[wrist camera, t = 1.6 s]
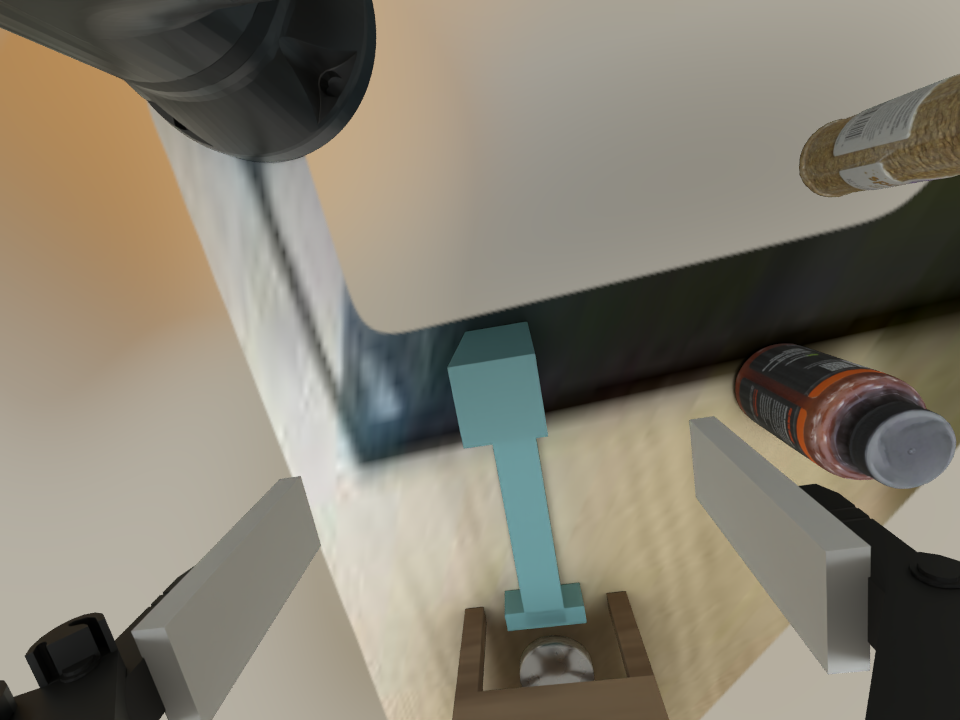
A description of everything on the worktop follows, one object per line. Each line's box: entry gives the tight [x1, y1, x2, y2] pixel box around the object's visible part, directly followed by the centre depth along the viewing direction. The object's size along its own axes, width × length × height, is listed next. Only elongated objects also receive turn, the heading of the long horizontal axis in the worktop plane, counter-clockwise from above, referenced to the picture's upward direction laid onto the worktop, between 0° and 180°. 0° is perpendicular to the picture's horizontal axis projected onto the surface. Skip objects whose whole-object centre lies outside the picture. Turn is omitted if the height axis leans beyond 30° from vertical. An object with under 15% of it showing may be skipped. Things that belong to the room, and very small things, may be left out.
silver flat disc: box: [520, 635, 594, 687], centre depth 39 cm, size 6×6×2 cm
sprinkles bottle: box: [799, 74, 960, 197], centre depth 23 cm, size 5×5×13 cm
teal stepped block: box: [447, 322, 587, 631], centre depth 31 cm, size 23×6×10 cm, turn 10°
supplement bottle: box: [735, 344, 956, 489], centre depth 27 cm, size 6×6×11 cm
